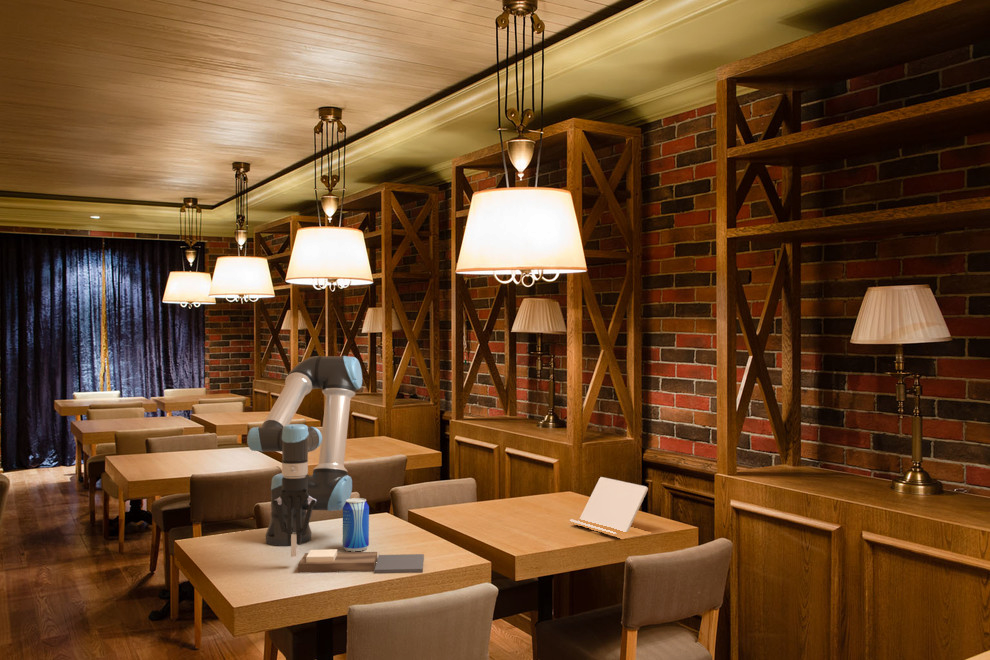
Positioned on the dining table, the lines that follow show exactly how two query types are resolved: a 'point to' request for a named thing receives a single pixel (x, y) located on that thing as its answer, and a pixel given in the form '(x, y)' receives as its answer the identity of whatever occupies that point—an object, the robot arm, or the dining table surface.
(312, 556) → the cream flat block
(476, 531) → the dining table surface
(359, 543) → the beer can
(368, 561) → the serving board
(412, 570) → the mat
